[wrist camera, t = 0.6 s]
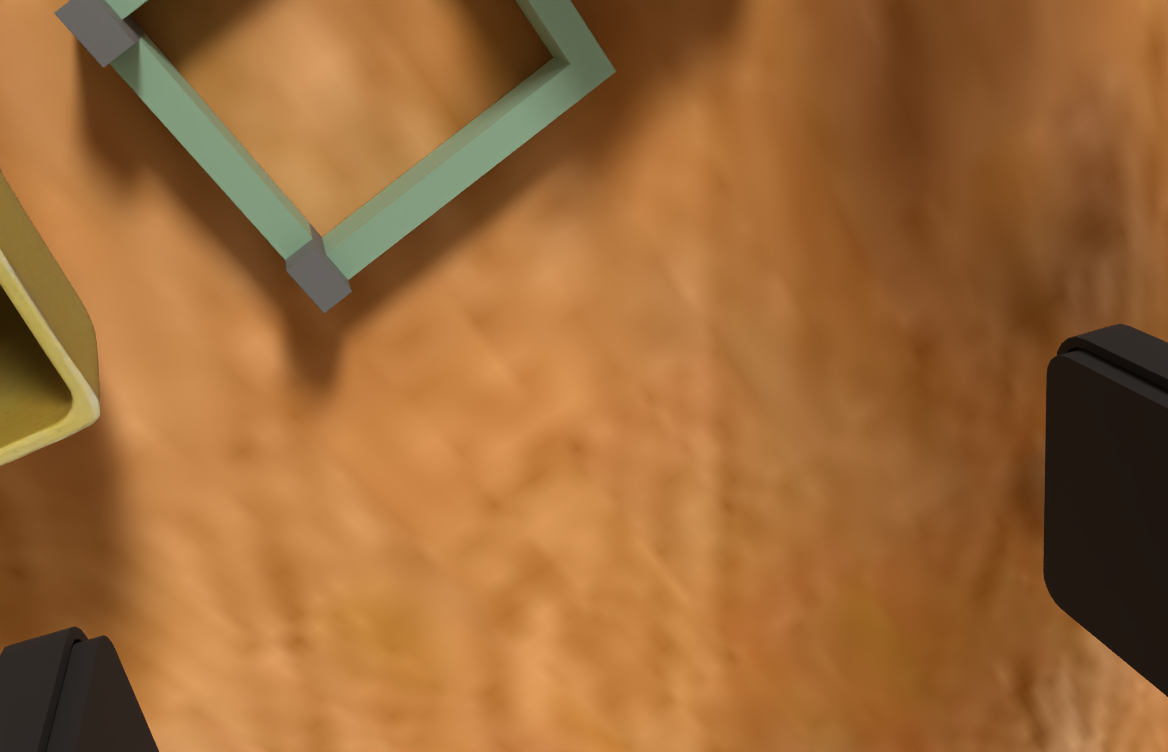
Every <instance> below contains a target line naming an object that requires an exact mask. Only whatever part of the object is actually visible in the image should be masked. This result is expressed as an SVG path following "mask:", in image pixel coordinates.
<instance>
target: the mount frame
mask: <svg viewBox="0 0 1168 752" xmlns="http://www.w3.org/2000/svg"><path fill="white" fill-rule="evenodd" d="M147 1H148V0H70V1H69V2H68V3H66V4H65V5H64V6H63V7H61V8H60V9H59V10H57V11H56V12H55V15H56V16H57V17H58V18H59V19H60V20H61V21H62V22H63V23H64V25H65V26H66V27H67V28H68V29H69V30H70V31H71V32H72V33H73V35H74V36H75V37H76V38H77V39H78V40H79V41H80V42H81V43H82V45H83V46H84V47H85V48H86V49H87V50H88V51H89V52H90V53H91V55H92V56H93V57H94V58H95V59H96V60H97V61H98V62H99V64H100V65H101V66H102V67H103V68H104V67H105V66H106V65H108V64H110V65H111V66H112V67H113V68H114V69H115V70H116V72H117V73H118V74H119V75H120V76H121V77H122V78H123V79H124V80H125V82H126V83H127V84H128V85H129V86H130V87H131V88H132V89H133V91H134V92H135V93H136V94H137V95H138V96H139V97H140V98H141V99H142V101H143V102H144V103H145V104H146V105H147V106H148V107H149V108H150V110H151V111H152V112H153V113H154V114H155V115H156V116H157V117H158V118H159V120H160V121H161V122H162V123H163V124H164V125H165V126H166V127H167V129H168V130H169V131H170V132H171V133H172V134H173V135H174V136H175V137H176V139H177V140H178V141H179V142H180V143H181V144H182V145H183V146H184V148H185V149H186V150H187V151H188V152H189V153H190V154H191V155H192V157H193V158H194V159H195V160H196V161H197V162H198V163H199V164H200V165H201V167H202V168H203V169H204V170H205V171H206V172H207V173H208V174H209V176H210V177H211V178H212V179H213V180H214V181H215V182H216V183H217V184H218V186H219V187H220V188H221V189H222V190H223V191H224V192H225V193H226V195H227V196H228V197H229V198H230V199H231V200H232V201H233V202H234V203H235V205H236V206H237V207H238V208H239V209H240V210H241V211H242V212H243V214H244V215H245V216H246V217H247V218H248V219H249V220H250V221H251V222H252V224H253V225H254V226H255V227H256V228H257V229H258V230H259V231H260V233H261V234H262V235H263V236H264V237H265V238H266V239H267V240H268V241H269V243H270V244H271V245H272V246H273V247H274V248H275V249H276V250H277V252H278V253H279V254H280V255H281V256H282V257H283V258H284V259H285V263H286V271H287V273H288V274H289V275H290V276H291V277H292V278H293V279H294V280H295V281H296V283H297V284H298V285H299V286H300V287H301V288H302V289H303V290H304V291H305V293H306V294H307V295H308V296H309V297H310V298H311V299H312V300H313V301H314V303H315V304H316V305H317V306H318V307H319V308H320V309H321V310H322V311H323V313H325V312H326V311H328V310H329V309H330V308H332V307H333V306H334V305H335V304H337V303H338V302H339V301H341V300H342V299H343V298H344V297H346V296H347V295H348V294H350V293H351V292H352V290H351V287H350V284H349V279H350V278H352V277H353V276H354V275H355V274H357V273H358V272H359V271H361V270H362V269H363V268H364V267H366V266H367V265H368V264H370V263H371V262H372V261H373V260H375V259H376V258H377V257H379V256H380V255H381V254H382V253H384V252H385V251H386V250H388V249H389V248H390V247H391V246H393V245H394V244H395V243H397V242H398V241H399V240H400V239H402V238H403V237H404V236H406V235H407V234H408V233H409V232H411V231H412V230H413V229H415V228H416V227H417V226H418V225H420V224H421V223H422V222H424V221H425V220H426V219H427V218H429V217H430V216H431V215H433V214H434V213H435V212H436V211H438V210H439V209H440V208H442V207H443V206H444V205H445V204H447V203H448V202H449V201H451V200H452V199H453V198H454V197H456V196H457V195H458V194H460V193H461V192H462V191H463V190H465V189H466V188H467V187H469V186H470V185H471V184H472V183H474V182H475V181H476V180H478V179H479V178H480V177H481V176H483V175H484V174H485V173H487V172H488V171H489V170H490V169H492V168H493V167H494V166H496V165H497V164H498V163H499V162H501V161H502V160H503V159H505V158H506V157H507V156H508V155H510V154H511V153H512V152H513V151H515V150H516V149H517V148H519V147H520V146H521V145H522V144H524V143H525V142H526V141H528V140H529V139H530V138H531V137H533V136H534V135H535V134H537V133H538V132H539V131H540V130H542V129H543V128H544V127H546V126H547V125H548V124H549V123H551V122H552V121H553V120H555V119H556V118H557V117H558V116H560V115H561V114H562V113H564V112H565V111H566V110H567V109H569V108H570V107H571V106H573V105H574V104H575V103H576V102H578V101H579V100H580V99H582V98H583V97H584V96H585V95H587V94H588V93H589V92H591V91H592V90H593V89H594V88H596V87H597V86H598V85H600V84H601V83H602V82H603V81H605V80H606V79H607V78H609V77H610V76H611V75H612V74H614V73H615V72H616V70H615V69H614V67H613V66H612V64H611V63H610V61H609V60H608V58H607V56H606V55H605V53H604V52H603V50H602V49H601V47H600V46H599V44H598V42H597V41H596V39H595V38H594V36H593V35H592V33H591V32H590V30H589V28H588V27H587V25H586V24H585V22H584V21H583V19H582V18H581V16H580V14H579V13H578V11H577V10H576V8H575V7H574V5H573V4H572V2H571V0H515V1H516V3H517V4H518V6H519V7H520V9H521V10H522V12H523V13H524V15H525V16H526V18H527V19H528V21H529V22H530V23H531V25H532V26H533V28H534V29H535V31H536V32H537V34H538V35H539V37H540V38H541V40H542V41H543V43H544V44H545V46H546V47H547V49H548V50H549V52H550V53H551V55H552V56H553V58H552V59H551V60H550V61H548V62H547V63H546V64H544V65H543V66H542V67H541V68H539V69H538V70H537V71H535V72H534V73H533V74H532V75H530V76H529V77H528V78H526V79H525V80H524V81H523V82H521V83H520V84H519V85H517V86H516V87H515V88H514V89H512V90H511V91H510V92H508V93H507V94H506V95H505V96H503V97H502V98H501V99H499V100H498V101H497V102H496V103H494V104H493V105H492V106H490V107H489V108H488V109H487V110H485V111H484V112H483V113H481V114H480V115H479V116H478V117H476V118H475V119H474V120H472V121H471V122H470V123H469V124H467V125H466V126H465V127H463V128H462V129H461V130H460V131H458V132H457V133H456V134H454V135H453V136H452V137H451V138H449V139H448V140H447V141H445V142H444V143H443V144H442V145H440V146H439V147H438V148H436V149H435V150H434V151H433V152H431V153H430V154H429V155H427V156H426V157H425V158H424V159H422V160H421V161H420V162H418V163H417V164H416V165H415V166H413V167H412V168H411V169H410V170H408V171H407V172H406V173H404V174H403V175H402V176H401V177H399V178H398V179H397V180H395V181H394V182H393V183H392V184H390V185H389V186H388V187H386V188H385V189H384V190H383V191H381V192H380V193H379V194H377V195H376V196H375V197H374V198H372V199H371V200H370V201H368V202H367V203H366V204H365V205H363V206H362V207H361V208H359V209H358V210H357V211H356V212H354V213H353V214H352V215H350V216H349V217H348V218H347V219H345V220H344V221H343V222H341V223H340V224H339V225H338V226H336V227H335V228H334V229H332V230H331V231H330V232H329V233H327V234H326V235H325V236H323V237H321V236H320V235H319V234H318V232H317V231H316V230H315V229H314V228H313V227H312V226H311V224H310V223H309V222H308V221H307V220H306V219H305V217H304V216H303V215H302V214H301V213H300V212H299V210H298V209H297V208H296V207H295V206H294V205H293V204H292V202H291V201H290V200H289V199H288V198H287V197H286V195H285V194H284V193H283V192H282V191H281V190H280V188H279V187H278V186H277V185H276V184H275V183H274V182H273V180H272V179H271V178H270V177H269V176H268V175H267V173H266V172H265V171H264V170H263V169H262V168H261V166H260V165H259V164H258V163H257V162H256V161H255V160H254V158H253V157H252V156H251V155H250V154H249V153H248V151H247V150H246V149H245V148H244V147H243V146H242V144H241V143H240V142H239V141H238V140H237V139H236V138H235V136H234V135H233V134H232V133H231V132H230V131H229V129H228V128H227V127H226V126H225V125H224V124H223V122H222V121H221V120H220V119H219V118H218V117H217V116H216V114H215V113H214V112H213V111H212V110H211V109H210V107H209V106H208V105H207V104H206V103H205V102H204V100H203V99H202V98H201V97H200V96H199V95H198V94H197V92H196V91H195V90H194V89H193V88H192V87H191V85H190V84H189V83H188V82H187V81H186V80H185V78H184V77H183V76H182V75H181V74H180V73H179V72H178V70H177V69H176V68H175V67H174V66H173V65H172V63H171V62H170V61H169V60H168V59H167V58H166V56H165V55H164V54H163V53H162V52H161V51H160V49H159V48H158V47H157V46H156V45H155V44H154V43H153V41H152V40H151V39H150V38H149V37H148V36H147V34H146V33H145V32H144V31H143V30H142V29H141V27H140V26H139V25H138V24H137V23H136V22H135V21H134V19H133V18H132V17H131V16H130V14H132V13H133V12H134V11H136V10H137V9H138V8H139V7H141V6H142V5H143V4H145V3H146V2H147Z"/></svg>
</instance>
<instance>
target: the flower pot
mask: <svg viewBox="0 0 1168 752" xmlns="http://www.w3.org/2000/svg"><path fill="white" fill-rule="evenodd" d="M100 411H101V410H100V389H99V368H98V353H97V341H96V335H95V330H94V327H93V324H92V321H91V319H90V316H89V314H88V312H87V310H86V308H85V307H84V305H83V303H82V301H81V300H80V298H79V296H78V295H77V293H76V291H75V290H74V288H73V287H72V285H71V284H70V282H69V281H68V279H67V277H66V276H65V274H64V273H63V271H62V269H61V268H60V266H59V265H58V263H57V261H56V260H55V258H54V257H53V255H52V253H51V252H50V250H49V249H48V247H47V245H46V244H45V242H44V241H43V239H42V237H41V236H40V234H39V233H38V231H37V229H36V228H35V226H34V225H33V223H32V221H31V220H30V218H29V217H28V215H27V213H26V212H25V210H24V208H23V207H22V205H21V203H20V202H19V200H18V198H17V197H16V195H15V194H14V192H13V190H12V189H11V187H10V185H9V184H8V182H7V180H6V179H5V177H4V175H3V174H2V172H1V170H0V466H2V465H5V464H7V463H10V462H12V461H15V460H17V459H19V458H21V457H24V456H26V455H28V454H30V453H32V452H35V451H37V450H39V449H41V448H43V447H46V446H48V445H51V444H54V443H56V442H58V441H60V440H63V439H65V438H67V437H69V436H71V435H73V434H75V433H77V432H79V431H81V430H83V429H85V428H87V427H89V426H91V425H92V424H94V423H95V422H96V421H97V420H98V419H99V416H100Z"/></svg>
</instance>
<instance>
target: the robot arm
mask: <svg viewBox="0 0 1168 752" xmlns="http://www.w3.org/2000/svg"><path fill="white" fill-rule="evenodd" d="M1044 580H1045V583H1046V587H1047V589H1048V591H1049V593H1050V595H1051V597H1052V598H1053V600H1054V601H1055V603H1056V604H1057V605H1058V606H1059V607H1060V608H1061V609H1062V610H1063V611H1064V612H1066V613H1067V614H1068V615H1069V616H1070V617H1072V618H1073V619H1074V620H1075V621H1077V622H1078V623H1079V624H1080V625H1081V626H1083V627H1084V628H1085V629H1086V630H1087V631H1089V632H1090V633H1091V634H1092V635H1093V636H1095V637H1096V638H1097V639H1098V640H1100V641H1101V642H1102V643H1103V644H1104V645H1106V646H1107V647H1108V648H1109V649H1110V650H1112V651H1113V652H1114V653H1115V654H1116V655H1118V656H1119V657H1120V658H1121V659H1123V660H1124V661H1125V662H1126V663H1127V664H1129V665H1130V666H1131V667H1132V668H1133V669H1135V670H1136V671H1137V672H1138V673H1139V674H1141V675H1142V676H1143V677H1144V678H1146V679H1147V680H1148V681H1149V682H1150V683H1152V684H1153V685H1154V686H1155V687H1156V688H1158V689H1159V690H1160V691H1161V692H1163V693H1164V694H1165V695H1166V696H1167V697H1168V343H1167V342H1165V341H1162V340H1160V339H1158V338H1155V337H1153V336H1151V335H1149V334H1146V333H1144V332H1142V331H1140V330H1137V329H1135V328H1133V327H1130V326H1127V325H1123V324H1118V325H1113V326H1109V327H1106V328H1102V329H1099V330H1095V331H1092V332H1088V333H1085V334H1081V335H1078V336H1074V337H1071V338H1068V339H1067V340H1065V341H1064V342H1063V343H1062V344H1061V346H1060V348H1059V350H1058V352H1057V356H1056V357H1054V358H1053V359H1052V360H1051V361H1050V363H1049V365H1048V369H1047V387H1046V448H1045V510H1044ZM0 752H159V750H158V748H157V746H156V743H155V741H154V739H153V736H152V734H151V732H150V729H149V727H148V725H147V722H146V720H145V718H144V715H143V713H142V711H141V708H140V706H139V704H138V701H137V699H136V697H135V694H134V692H133V690H132V687H131V685H130V683H129V680H128V678H127V676H126V673H125V671H124V669H123V666H122V664H121V662H120V659H119V657H118V655H117V652H116V650H115V648H114V646H113V644H112V642H111V641H110V640H109V638H108V637H106V636H104V635H103V636H100V637H96V638H93V639H90V640H88V639H87V637H86V635H85V634H84V633H83V632H82V630H81V629H79V628H77V627H71V628H68V629H64V630H61V631H58V632H54V633H51V634H47V635H44V636H40V637H37V638H33V639H30V640H27V641H23V642H20V643H16V644H13V645H10V646H7V647H5V648H4V650H3V651H2V653H1V655H0Z"/></svg>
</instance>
